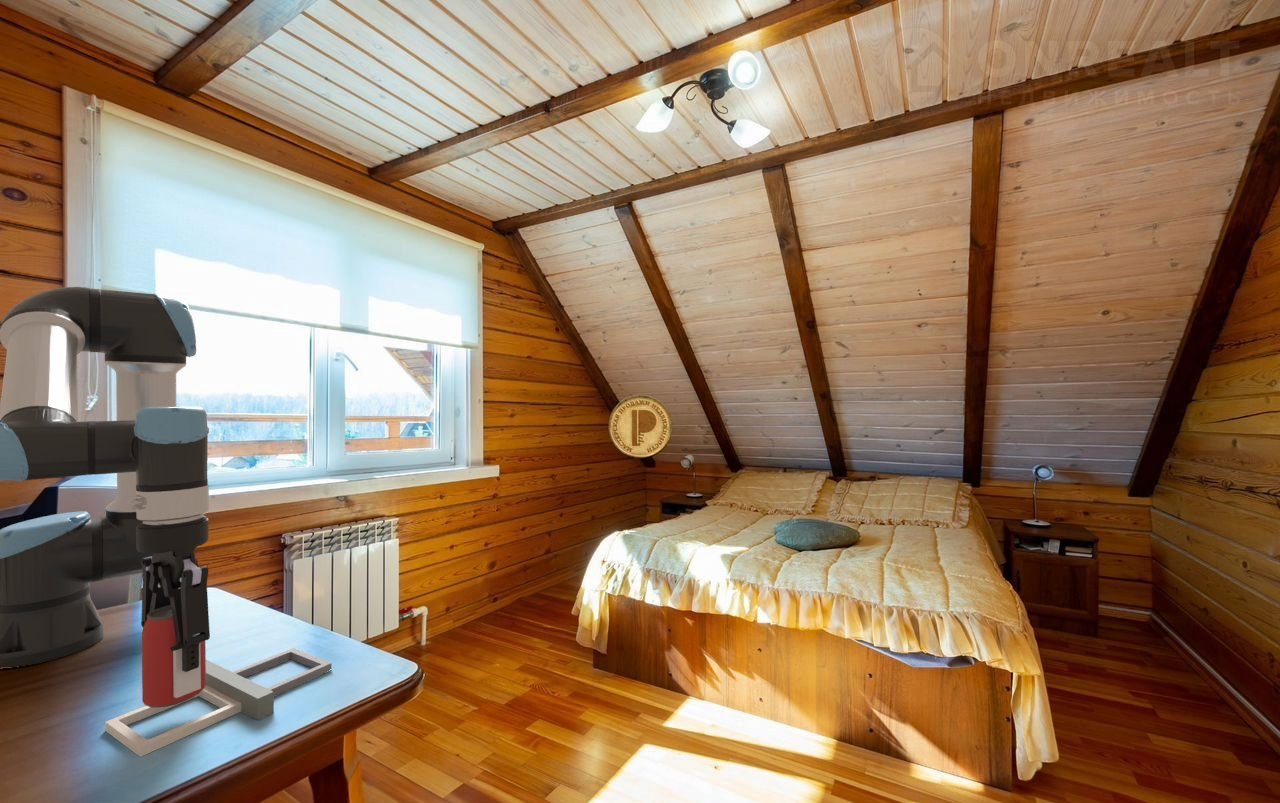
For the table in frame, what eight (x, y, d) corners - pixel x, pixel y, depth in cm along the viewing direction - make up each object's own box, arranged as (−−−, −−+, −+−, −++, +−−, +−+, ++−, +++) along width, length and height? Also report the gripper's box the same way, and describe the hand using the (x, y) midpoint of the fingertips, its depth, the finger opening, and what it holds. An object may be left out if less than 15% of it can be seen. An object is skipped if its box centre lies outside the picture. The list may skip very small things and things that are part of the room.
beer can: (168, 712, 70) (168, 620, 70) (129, 707, 71) (128, 617, 71) (218, 686, 76) (217, 602, 76) (180, 681, 78) (179, 599, 78)
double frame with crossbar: (92, 721, 74) (92, 699, 74) (279, 649, 95) (279, 632, 95) (156, 768, 64) (156, 743, 64) (348, 677, 85) (348, 658, 85)
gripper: (108, 516, 75) (109, 681, 75) (171, 532, 66) (173, 720, 66) (174, 507, 82) (176, 658, 82) (241, 520, 72) (242, 690, 72)
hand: (175, 685), depth 74 cm, fingers closed on beer can, 7 cm apart
